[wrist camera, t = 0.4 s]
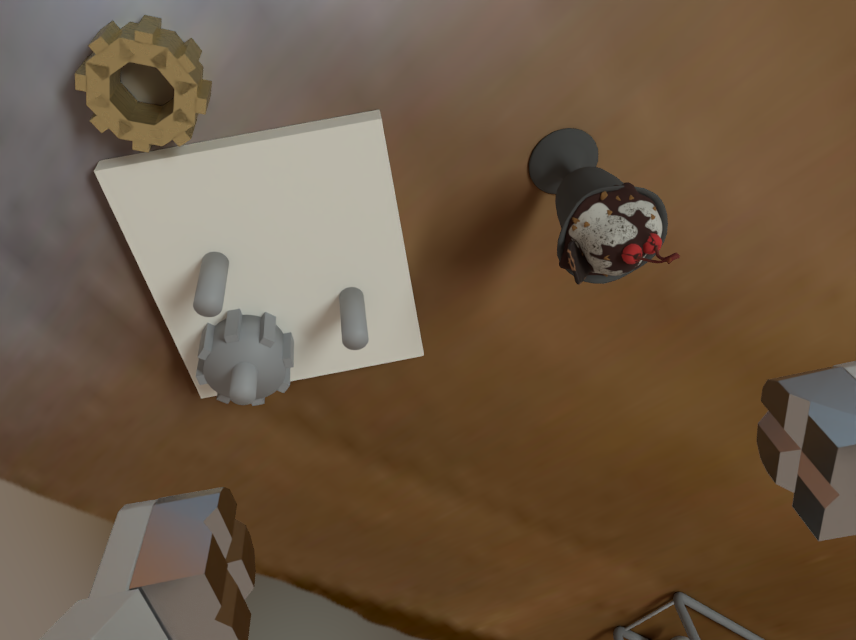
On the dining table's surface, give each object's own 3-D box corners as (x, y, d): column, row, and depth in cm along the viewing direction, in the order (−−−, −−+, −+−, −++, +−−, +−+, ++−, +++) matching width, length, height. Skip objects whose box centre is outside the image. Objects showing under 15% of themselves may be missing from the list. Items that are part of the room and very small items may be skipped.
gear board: (99, 160, 45) (71, 215, 39) (379, 109, 45) (389, 156, 40) (203, 385, 57) (192, 450, 52) (421, 343, 58) (434, 404, 52)
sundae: (623, 121, 48) (727, 236, 36) (590, 208, 52) (674, 337, 40) (533, 107, 46) (610, 221, 35) (505, 198, 50) (567, 328, 39)
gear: (61, 58, 41) (46, 76, 38) (153, -10, 39) (144, 4, 37) (148, 151, 45) (140, 173, 42) (235, 93, 43) (231, 112, 41)
